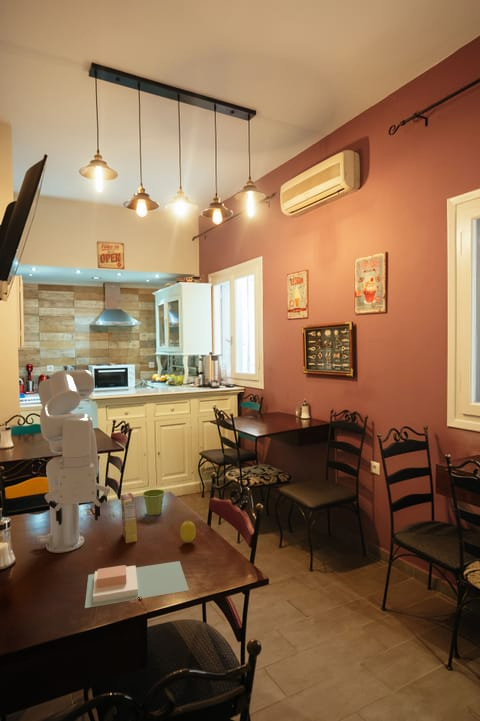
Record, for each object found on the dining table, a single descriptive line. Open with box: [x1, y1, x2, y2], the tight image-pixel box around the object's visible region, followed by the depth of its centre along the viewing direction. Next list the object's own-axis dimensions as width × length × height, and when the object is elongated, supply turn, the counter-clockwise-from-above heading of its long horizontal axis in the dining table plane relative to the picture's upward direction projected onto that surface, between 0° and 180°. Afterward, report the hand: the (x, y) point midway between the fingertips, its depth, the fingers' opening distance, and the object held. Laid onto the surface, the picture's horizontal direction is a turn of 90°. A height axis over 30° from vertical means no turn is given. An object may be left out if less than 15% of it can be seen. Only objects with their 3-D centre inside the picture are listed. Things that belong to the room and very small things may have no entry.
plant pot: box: [142, 488, 166, 516], centre depth 184 cm, size 9×9×9 cm
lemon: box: [179, 520, 197, 544], centre depth 155 cm, size 6×6×8 cm
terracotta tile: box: [97, 564, 127, 588], centre depth 126 cm, size 8×6×2 cm
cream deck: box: [93, 565, 138, 602], centre depth 127 cm, size 12×14×2 cm
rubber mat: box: [84, 560, 190, 609], centre depth 128 cm, size 28×18×1 cm, turn 106°
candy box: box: [120, 492, 138, 544], centre depth 159 cm, size 9×4×15 cm, turn 23°
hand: (78, 521), depth 123 cm, fingers open, 9 cm apart
